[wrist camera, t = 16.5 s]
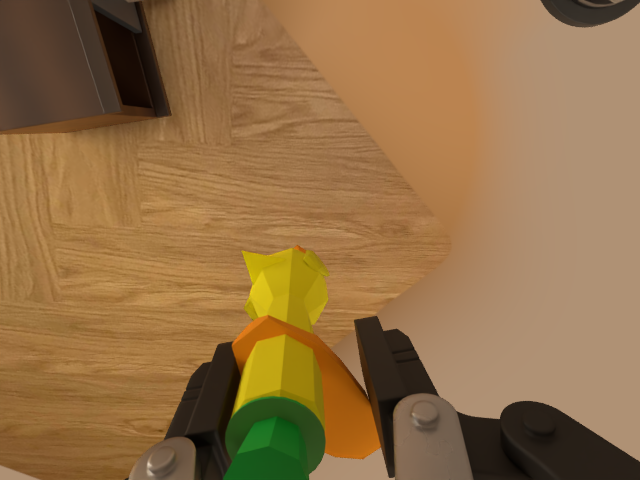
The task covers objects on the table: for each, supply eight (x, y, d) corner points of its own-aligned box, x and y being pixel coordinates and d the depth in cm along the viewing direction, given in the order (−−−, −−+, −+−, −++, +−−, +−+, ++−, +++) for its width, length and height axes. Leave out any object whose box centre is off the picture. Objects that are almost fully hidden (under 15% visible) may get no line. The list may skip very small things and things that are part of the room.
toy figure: (370, 294, 19) (472, 558, 7) (317, 334, 19) (337, 635, 8) (283, 197, 17) (240, 347, 6) (228, 244, 18) (90, 465, 6)
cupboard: (117, -91, 29) (27, -197, 20) (171, 115, 34) (121, 111, 25) (-8, -71, 29) (-159, -169, 20) (65, 132, 34) (-28, 135, 24)
